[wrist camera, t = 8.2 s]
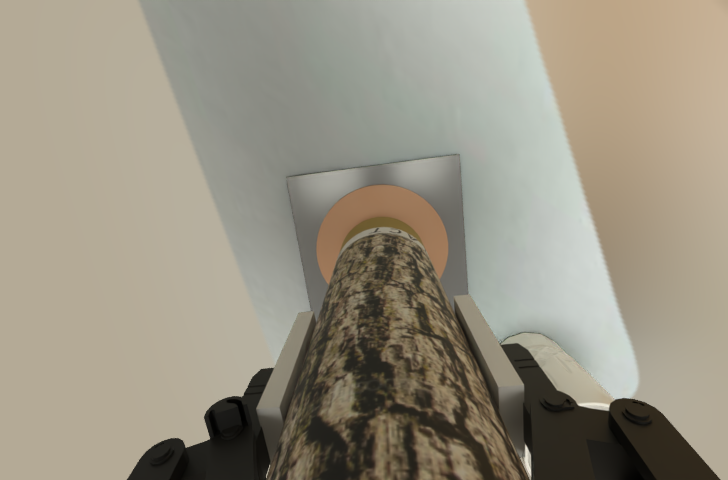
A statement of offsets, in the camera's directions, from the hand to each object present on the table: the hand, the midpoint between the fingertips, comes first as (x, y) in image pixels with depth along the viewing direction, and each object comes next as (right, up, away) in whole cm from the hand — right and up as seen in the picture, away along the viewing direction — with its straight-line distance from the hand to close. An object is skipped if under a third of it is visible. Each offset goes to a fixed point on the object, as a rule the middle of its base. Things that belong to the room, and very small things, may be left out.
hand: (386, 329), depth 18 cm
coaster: (0, +4, +14) cm, 14 cm away
